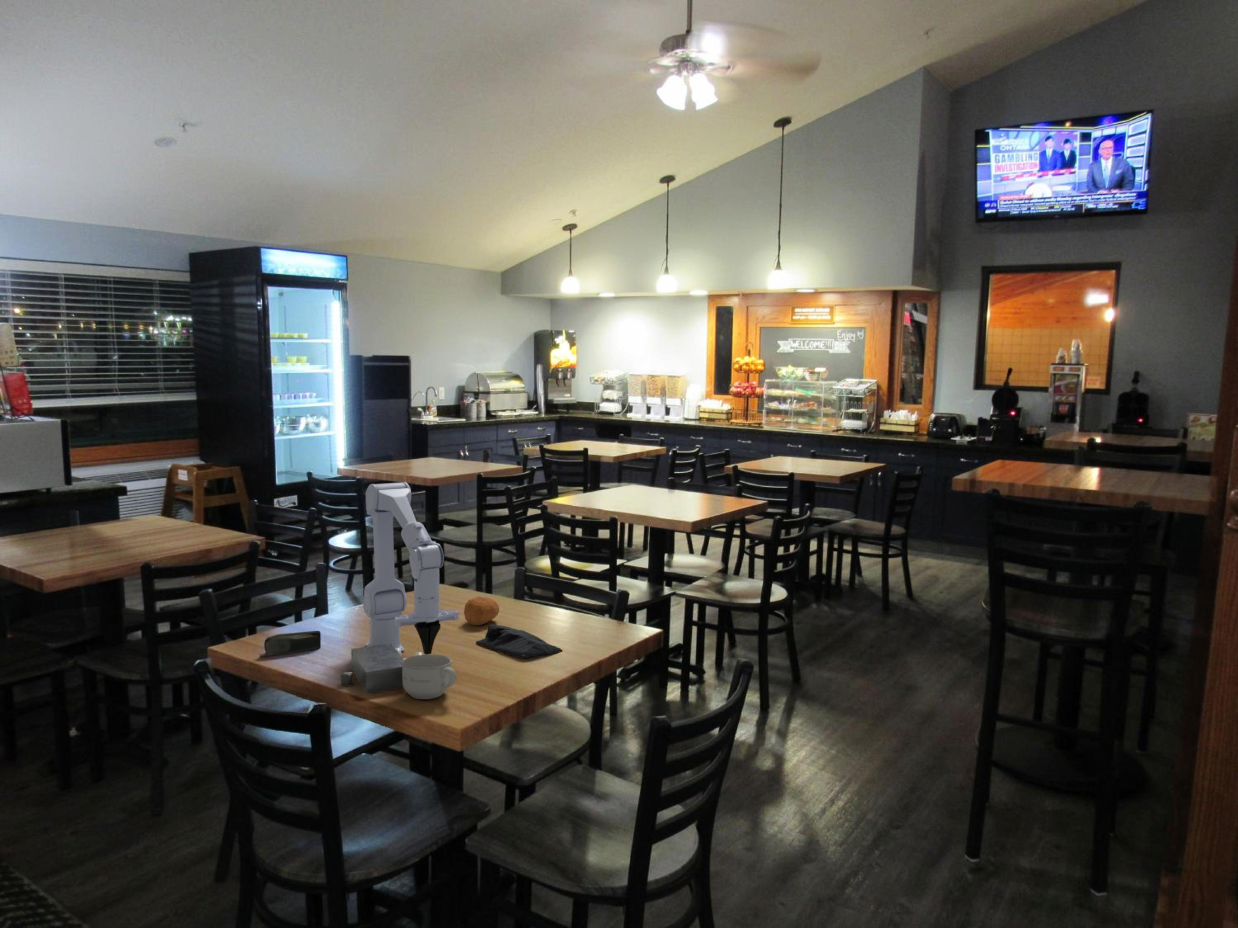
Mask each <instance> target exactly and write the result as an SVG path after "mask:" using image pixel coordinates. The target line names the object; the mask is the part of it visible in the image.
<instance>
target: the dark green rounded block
mask: <svg viewBox="0 0 1238 928" xmlns="http://www.w3.org/2000/svg"><path fill="white" fill-rule="evenodd" d="M321 635H322V633H321V631H320V630H311V631H299V632H288V633H277V634H275V635H272V636H267V638H266V639H265V640H264V643H263V645H264V647H263V648H264V651H265V652H264V653H263V654H262V653H261V654H259V657H260V658H263V657H264V658H265V657H271V656H279V655H281V656H282V655H287V654H294V653H301V652H309V651H315V650H319V649H320V648H321V646H322V643H321V642H322V638H321V637H322V636H321Z"/></svg>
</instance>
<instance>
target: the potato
mask: <svg viewBox="0 0 1238 928" xmlns="http://www.w3.org/2000/svg"><path fill="white" fill-rule="evenodd" d="M499 612H500V606H499V604H498V603H497V601H496V600H494V599H493V598H490V597H484V596H479V595H478V596H475V597H472V598H470V599H468V600H467V601H466V602H465V605H464V609H463V615H464V619H465V621H466V622H467V623H469V624H471V625H472V626H481V625H483V624H486V623H488V622H490V621H492V620H493V619H495V618H496V617H497V616H498V614H499Z"/></svg>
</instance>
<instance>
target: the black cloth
mask: <svg viewBox="0 0 1238 928" xmlns="http://www.w3.org/2000/svg"><path fill="white" fill-rule="evenodd" d="M486 630H487V631H486V634H485V638H482V639H479V640H476V644H478V645H479V646H481V645H482V646H484V647H485V648H488V649H491V650H494V651H498V652H500V653H501V652H502V653H503V654H506V655H510V656H513V657H516V658H521V659H526V658H527V659H528V658H533V657H537V656H546V655H552V654H554V655H555V654H558V653H560V652H562V651H563V649H561V647H558V646H556V645H552V644H550V643H547V642H546V641H545V640H544V639H542V638H540V637H538V636H536V635H534V634H532V633H530V632H529V631H528V632H527V631H526V630H523V629H517V628H512V627H509V626H506V625H502V624H501V625H500V624H499V625H498V624H492V623H491V624H488V626H487V629H486Z"/></svg>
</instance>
